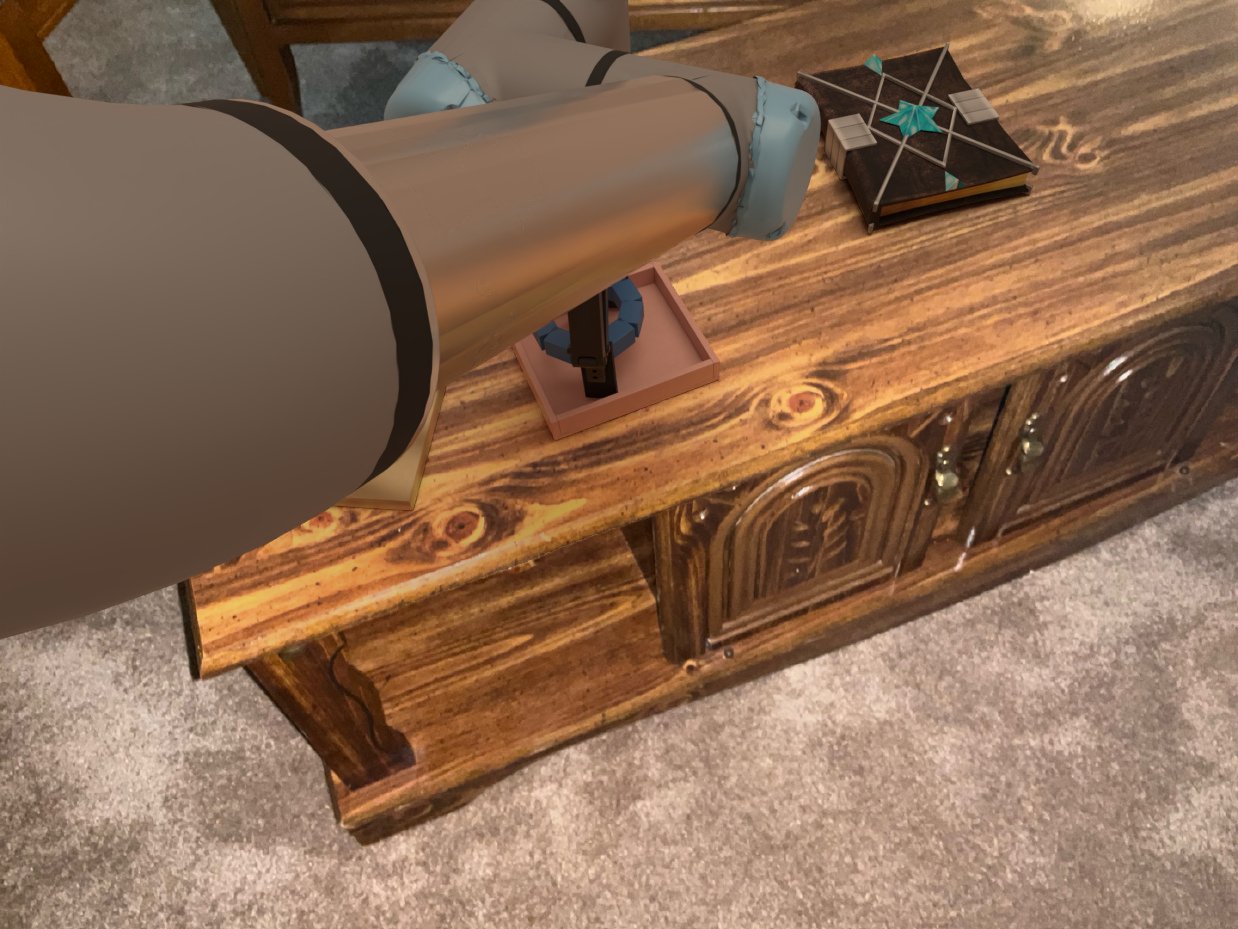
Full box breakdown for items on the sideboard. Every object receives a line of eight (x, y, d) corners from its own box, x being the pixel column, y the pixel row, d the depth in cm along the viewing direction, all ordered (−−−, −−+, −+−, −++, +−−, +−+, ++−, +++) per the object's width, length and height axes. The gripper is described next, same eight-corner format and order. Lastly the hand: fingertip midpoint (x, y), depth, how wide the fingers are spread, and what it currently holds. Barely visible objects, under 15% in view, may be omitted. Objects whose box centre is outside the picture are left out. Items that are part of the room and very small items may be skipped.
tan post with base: (413, 510, 77) (280, 235, 53) (249, 501, 79) (47, 229, 55) (449, 375, 85) (347, 80, 61) (299, 369, 87) (141, 79, 62)
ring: (609, 379, 78) (607, 365, 76) (510, 340, 81) (506, 325, 79) (663, 302, 82) (663, 287, 81) (567, 268, 85) (565, 253, 84)
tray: (555, 440, 80) (551, 423, 78) (505, 333, 87) (500, 314, 85) (719, 379, 83) (720, 360, 81) (658, 279, 90) (657, 260, 88)
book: (792, 101, 103) (795, 58, 99) (940, 69, 104) (950, 26, 100) (867, 235, 91) (875, 194, 87) (1034, 198, 92) (1050, 156, 88)
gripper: (618, 251, 59) (638, 455, 78) (652, 38, 71) (662, 259, 90) (500, 248, 60) (547, 450, 79) (552, 38, 72) (583, 256, 91)
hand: (608, 348), depth 84 cm, fingers closed on ring, 9 cm apart
